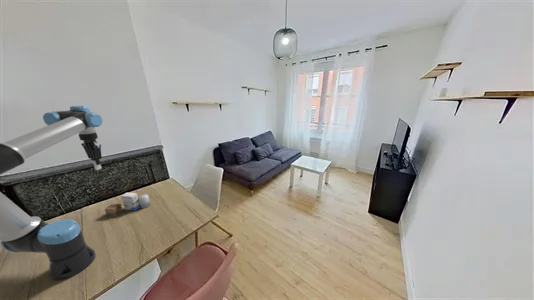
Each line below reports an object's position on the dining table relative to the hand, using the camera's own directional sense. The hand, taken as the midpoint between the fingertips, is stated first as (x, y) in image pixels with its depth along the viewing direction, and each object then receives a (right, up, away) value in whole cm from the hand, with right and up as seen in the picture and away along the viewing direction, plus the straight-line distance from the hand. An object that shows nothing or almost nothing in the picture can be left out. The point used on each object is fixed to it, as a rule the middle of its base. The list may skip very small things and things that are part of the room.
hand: (98, 169), depth 108 cm
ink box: (+8, -31, +18) cm, 37 cm away
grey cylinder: (+15, -30, +21) cm, 39 cm away
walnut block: (0, -33, +12) cm, 35 cm away
